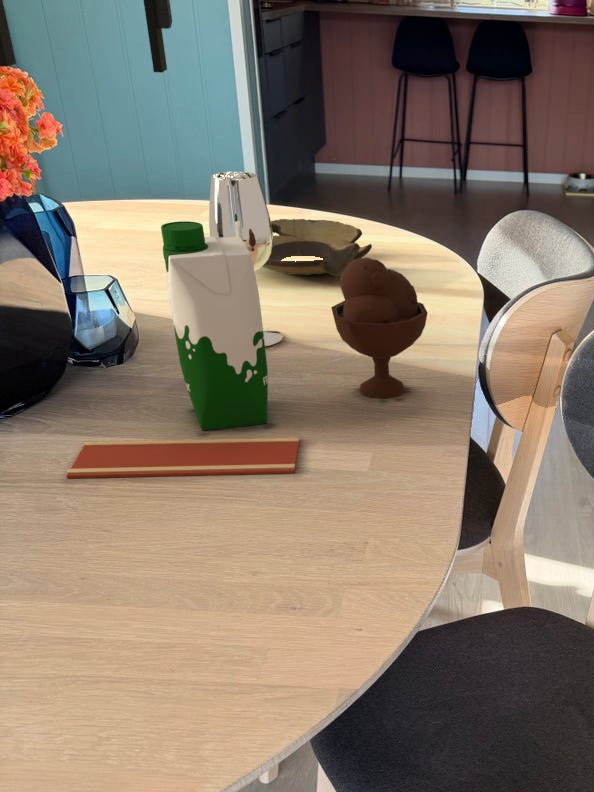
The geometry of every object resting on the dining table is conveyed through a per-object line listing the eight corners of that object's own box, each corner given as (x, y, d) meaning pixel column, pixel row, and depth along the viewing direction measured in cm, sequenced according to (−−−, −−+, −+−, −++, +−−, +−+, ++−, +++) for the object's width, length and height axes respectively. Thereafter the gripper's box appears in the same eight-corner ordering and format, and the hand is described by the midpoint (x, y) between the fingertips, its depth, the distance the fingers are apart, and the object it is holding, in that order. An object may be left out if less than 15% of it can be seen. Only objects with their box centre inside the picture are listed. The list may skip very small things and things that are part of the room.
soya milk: (185, 405, 106) (153, 217, 94) (265, 396, 109) (243, 212, 97) (193, 435, 99) (160, 237, 88) (278, 425, 102) (256, 231, 90)
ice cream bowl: (381, 415, 105) (375, 277, 96) (318, 388, 111) (307, 257, 102) (446, 390, 111) (446, 259, 103) (383, 367, 117) (378, 241, 109)
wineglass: (212, 340, 124) (187, 176, 112) (254, 326, 129) (235, 167, 118) (253, 353, 121) (232, 184, 109) (295, 337, 126) (280, 175, 114)
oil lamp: (359, 247, 166) (357, 200, 161) (388, 295, 143) (386, 242, 138) (231, 252, 161) (225, 204, 157) (240, 303, 138) (233, 248, 133)
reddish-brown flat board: (67, 478, 91) (65, 474, 91) (87, 444, 97) (86, 440, 97) (294, 473, 93) (294, 469, 93) (299, 439, 99) (299, 435, 99)
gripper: (-163, -268, 69) (-74, 66, 81) (183, -243, 71) (217, 77, 84) (-121, -251, 75) (-44, 58, 87) (197, -229, 77) (227, 68, 90)
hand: (84, 68), depth 86 cm, fingers open, 13 cm apart
